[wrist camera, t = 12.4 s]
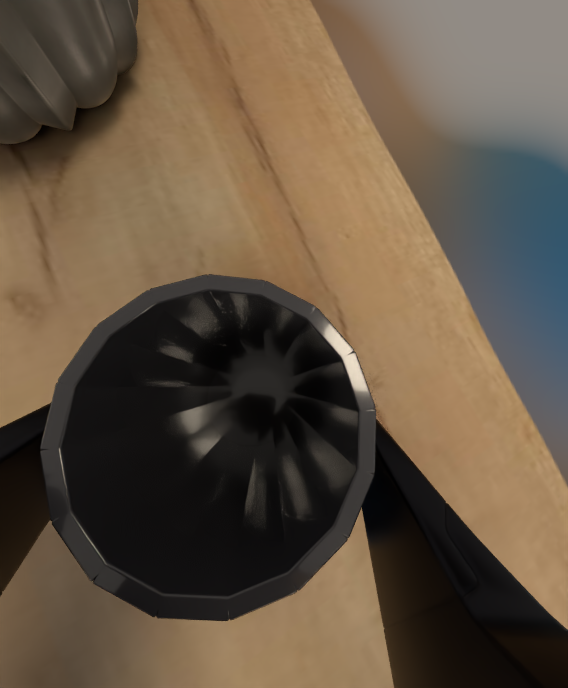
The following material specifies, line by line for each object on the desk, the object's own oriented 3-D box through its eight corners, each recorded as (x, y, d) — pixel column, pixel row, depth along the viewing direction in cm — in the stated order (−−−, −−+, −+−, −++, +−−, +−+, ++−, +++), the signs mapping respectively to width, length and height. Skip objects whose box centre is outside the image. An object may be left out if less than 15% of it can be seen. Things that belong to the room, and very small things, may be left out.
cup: (312, 430, 17) (424, 539, 5) (218, 463, 16) (74, 688, 4) (283, 340, 18) (317, 244, 6) (193, 367, 17) (17, 321, 5)
